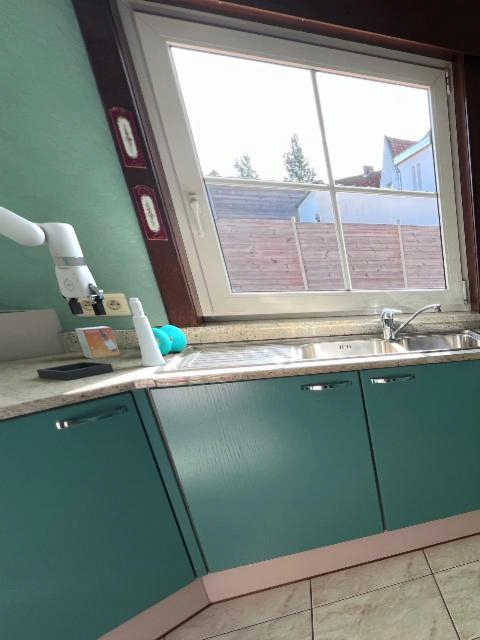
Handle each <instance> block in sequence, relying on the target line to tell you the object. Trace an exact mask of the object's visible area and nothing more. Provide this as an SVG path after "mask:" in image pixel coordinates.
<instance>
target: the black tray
mask: <svg viewBox="0 0 480 640" xmlns="http://www.w3.org/2000/svg"><path fill="white" fill-rule="evenodd" d="M36 372H37V375H38V378H39V379H45V380H57V381H72V380H78V379H84V378H88V377H94V376H98V375H103V374H108V373H114V367H113V365H112V363H107V362H95V361H94V362H93V361H80V362H74V363H68V364H62V365H57V366H51V367H45V368H39V369H36Z"/></svg>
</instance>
